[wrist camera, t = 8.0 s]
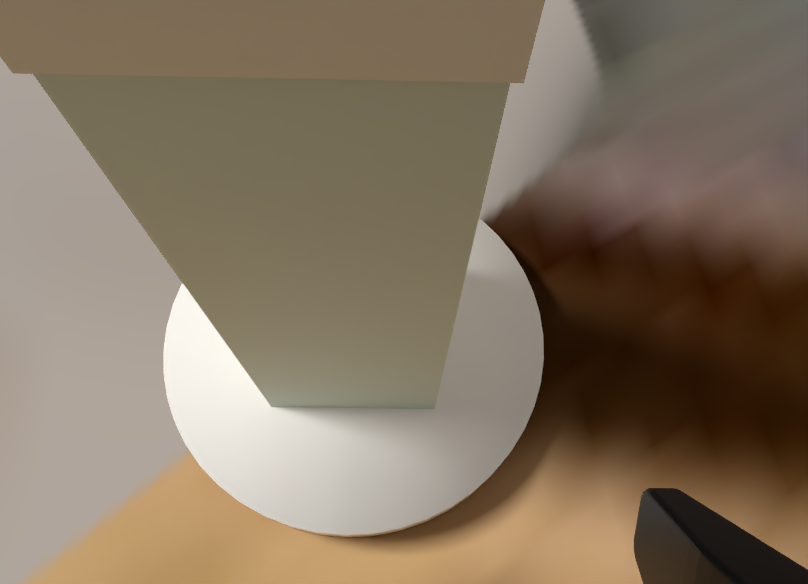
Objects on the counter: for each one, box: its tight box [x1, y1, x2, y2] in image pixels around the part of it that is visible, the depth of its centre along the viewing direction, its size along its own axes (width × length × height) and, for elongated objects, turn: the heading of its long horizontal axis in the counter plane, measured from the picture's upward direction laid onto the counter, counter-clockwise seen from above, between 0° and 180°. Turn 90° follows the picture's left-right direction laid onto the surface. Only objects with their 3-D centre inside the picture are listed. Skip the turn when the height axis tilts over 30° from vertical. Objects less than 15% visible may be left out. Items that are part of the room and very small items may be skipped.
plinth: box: [164, 219, 544, 537], centre depth 18 cm, size 11×11×1 cm
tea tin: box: [0, 0, 545, 409], centre depth 12 cm, size 5×5×13 cm
